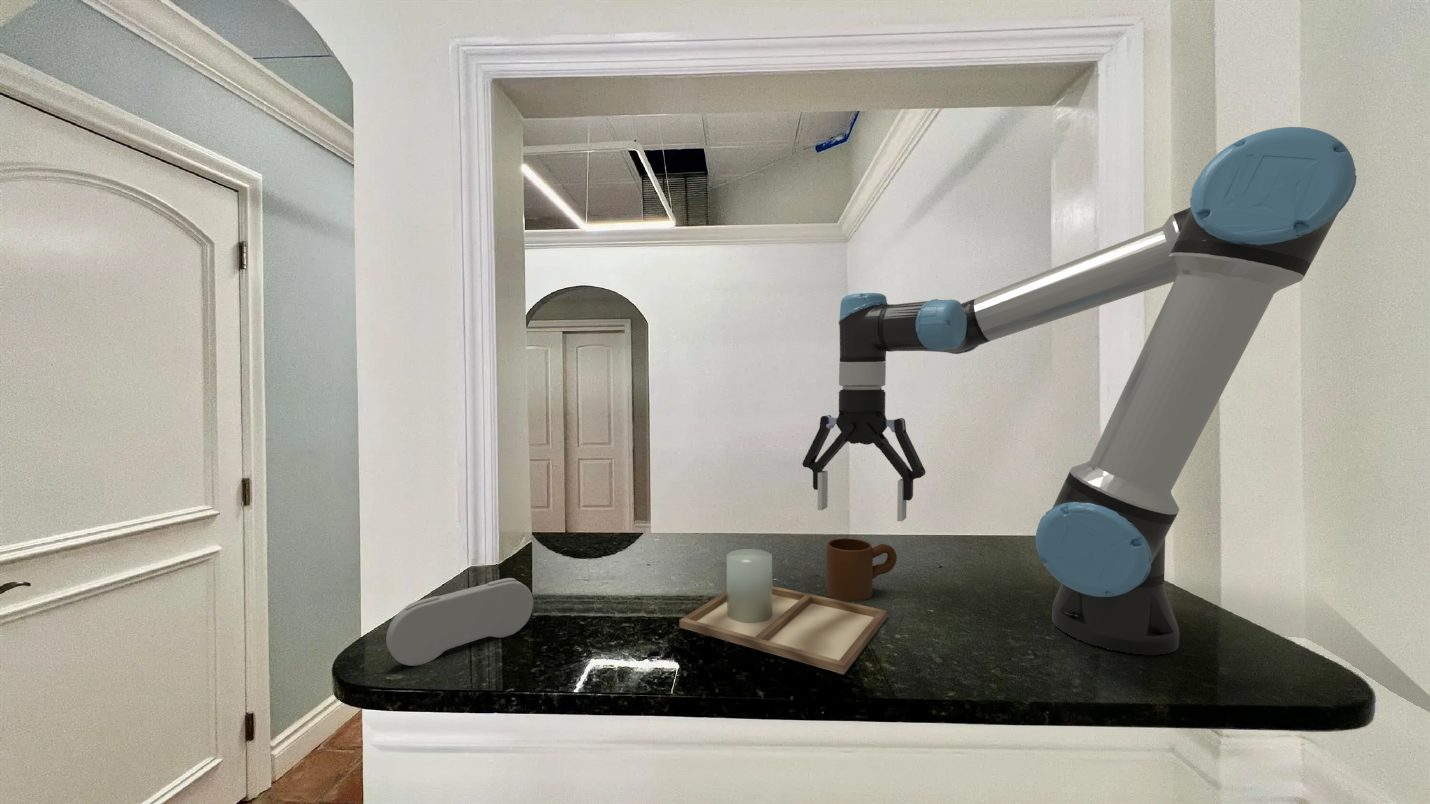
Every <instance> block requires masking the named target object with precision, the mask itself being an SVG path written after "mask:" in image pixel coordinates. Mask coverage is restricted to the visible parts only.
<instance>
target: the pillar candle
mask: <svg viewBox="0 0 1430 804" xmlns="http://www.w3.org/2000/svg"><path fill="white" fill-rule="evenodd" d="M772 586H773V554H772V553H770V552H768V551H766V550H763V549H759V548H757V549H755V548H742V549H736V550H732V551H730V552H728V553H727V554H726V591H727V615H728V616H729V617H730V618H731V619H733V620H735V621H738V622H743V623H758V622H763V621H766V620H768V619H770V618H771V617H772Z"/></svg>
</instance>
